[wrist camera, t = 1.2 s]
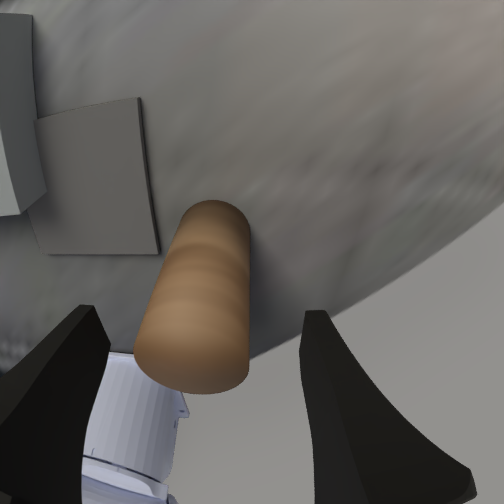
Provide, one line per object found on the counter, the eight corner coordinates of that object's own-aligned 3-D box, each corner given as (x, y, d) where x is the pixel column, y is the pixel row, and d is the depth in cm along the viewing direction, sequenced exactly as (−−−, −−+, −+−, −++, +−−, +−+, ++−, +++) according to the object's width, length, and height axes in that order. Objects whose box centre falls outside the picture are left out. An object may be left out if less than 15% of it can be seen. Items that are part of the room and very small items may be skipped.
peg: (250, 262, 17) (249, 395, 10) (183, 262, 17) (149, 390, 10) (249, 199, 15) (248, 326, 8) (175, 201, 15) (118, 321, 8)
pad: (159, 250, 16) (158, 254, 16) (45, 250, 16) (42, 254, 16) (140, 97, 12) (136, 98, 11) (12, 126, 12) (8, 128, 11)
